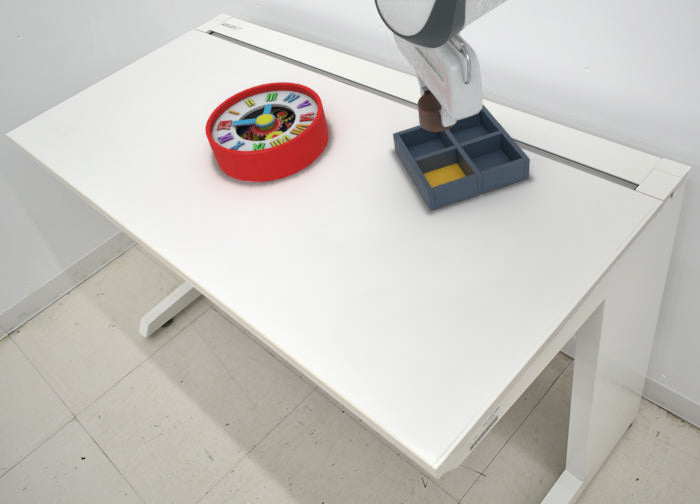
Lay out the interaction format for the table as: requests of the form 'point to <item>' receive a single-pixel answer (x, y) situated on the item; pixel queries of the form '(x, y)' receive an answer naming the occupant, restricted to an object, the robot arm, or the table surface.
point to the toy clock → (268, 131)
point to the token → (430, 113)
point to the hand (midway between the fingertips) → (437, 109)
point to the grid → (461, 159)
